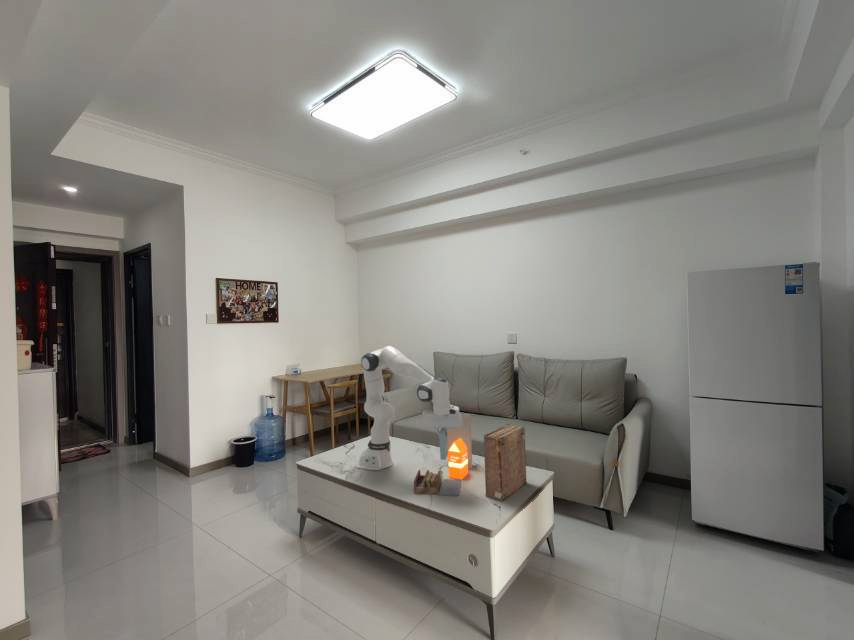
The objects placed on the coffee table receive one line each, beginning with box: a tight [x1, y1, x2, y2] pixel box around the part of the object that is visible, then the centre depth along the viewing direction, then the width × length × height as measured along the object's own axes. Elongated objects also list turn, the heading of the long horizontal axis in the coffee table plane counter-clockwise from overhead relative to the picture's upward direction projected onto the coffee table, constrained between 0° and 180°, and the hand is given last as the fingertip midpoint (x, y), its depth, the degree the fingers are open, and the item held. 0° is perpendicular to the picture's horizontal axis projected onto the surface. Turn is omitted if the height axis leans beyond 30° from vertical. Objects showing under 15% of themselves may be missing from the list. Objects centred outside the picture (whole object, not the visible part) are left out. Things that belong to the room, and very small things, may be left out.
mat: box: [438, 478, 462, 497], centre depth 202 cm, size 10×18×1 cm, turn 171°
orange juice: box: [447, 438, 469, 480], centre depth 218 cm, size 8×9×20 cm
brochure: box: [447, 413, 473, 469], centre depth 230 cm, size 14×6×30 cm, turn 84°
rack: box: [413, 469, 442, 495], centre depth 204 cm, size 12×16×6 cm
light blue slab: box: [438, 428, 449, 461], centre depth 201 cm, size 2×12×13 cm, turn 170°
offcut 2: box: [431, 473, 438, 488], centre depth 204 cm, size 2×9×6 cm, turn 171°
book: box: [483, 423, 527, 502], centre depth 198 cm, size 25×9×30 cm, turn 139°
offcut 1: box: [426, 471, 434, 487], centre depth 204 cm, size 2×10×6 cm, turn 171°
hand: (443, 435), depth 201 cm, fingers closed on light blue slab, 2 cm apart
